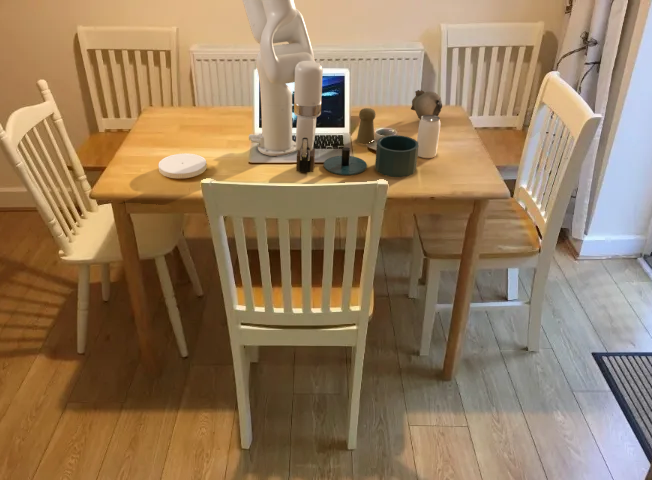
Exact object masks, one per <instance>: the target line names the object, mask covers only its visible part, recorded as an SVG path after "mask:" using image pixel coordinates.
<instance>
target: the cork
mask: <svg viewBox="0 0 652 480" xmlns="http://www.w3.org/2000/svg"><path fill="white" fill-rule="evenodd" d="M358 117H359V120H360V121H359V125H358V130H357V136H356V142H357V143H359V144H362V145H372V144H373V143H375V141H373V142H371V141H372V140H375V126H374V125H375V123H374V120H375V118H376V111H375V109H373V108H371V107H370V108H369V107H365V108H364V107H363V108H362V109H360V110H359V113H358ZM369 142H370V143H369Z"/></svg>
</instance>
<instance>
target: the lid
mask: <svg viewBox="0 0 652 480" xmlns="http://www.w3.org/2000/svg"><path fill="white" fill-rule="evenodd" d="M323 168H324V169H325V171H327V172H328V173H330V174H334V175H337V176H355V175H359V174H362V173H364V172H365V171H366V170H367V169H368V164H367V162H366V161H365V160H364V159H362V158H360V157H358V156H352V155H351V148H350V147H347V146H345V147H344V146H343V147H342V148H341V155H335V156H331V157H329V158H327V159H325V161H323Z"/></svg>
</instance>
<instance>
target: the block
mask: <svg viewBox="0 0 652 480" xmlns="http://www.w3.org/2000/svg"><path fill="white" fill-rule="evenodd" d="M302 149H303V148H302ZM300 150H301V148H300ZM300 150H298V151H296V172H300V171H299V162H300V152H301V151H300ZM307 154H308V152H307ZM310 159H311V166H310V172H309V173H314V169H315V163H316V148H313V149H312V151H310Z"/></svg>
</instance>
